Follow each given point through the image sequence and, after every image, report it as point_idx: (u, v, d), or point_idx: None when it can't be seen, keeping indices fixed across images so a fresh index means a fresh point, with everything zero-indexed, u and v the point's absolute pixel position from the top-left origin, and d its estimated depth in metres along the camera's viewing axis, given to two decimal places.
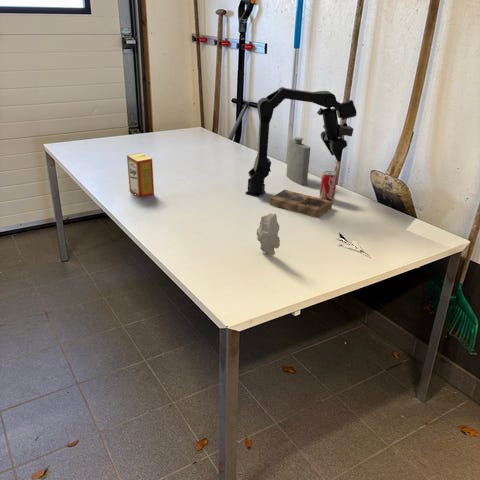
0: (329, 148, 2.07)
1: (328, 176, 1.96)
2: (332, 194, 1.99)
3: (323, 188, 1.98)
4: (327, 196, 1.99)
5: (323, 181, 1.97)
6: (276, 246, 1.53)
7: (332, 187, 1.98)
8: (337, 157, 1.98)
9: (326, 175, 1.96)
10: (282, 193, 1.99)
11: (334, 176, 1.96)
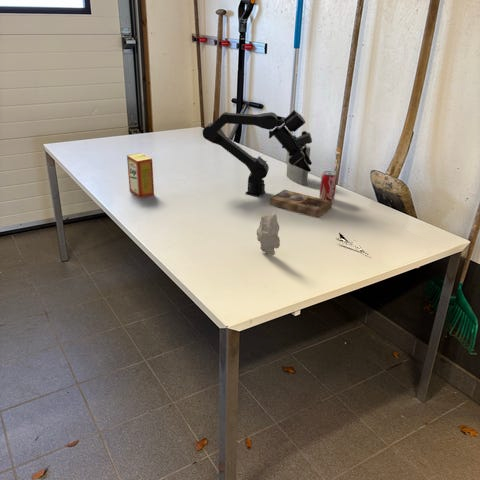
0: None
1: (328, 176, 1.96)
2: (332, 194, 1.99)
3: (323, 188, 1.98)
4: (327, 196, 1.99)
5: (323, 181, 1.97)
6: (276, 246, 1.53)
7: (332, 187, 1.97)
8: (305, 168, 1.93)
9: (326, 175, 1.96)
10: (282, 193, 1.99)
11: (334, 176, 1.96)
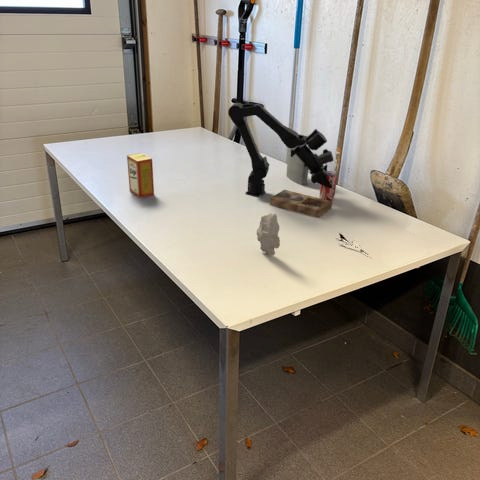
0: None
1: (328, 176, 1.96)
2: (332, 194, 1.99)
3: (323, 188, 1.98)
4: (327, 196, 1.99)
5: None
6: (276, 246, 1.53)
7: (332, 187, 1.98)
8: (326, 185, 1.96)
9: None
10: (282, 193, 1.99)
11: (334, 176, 1.96)
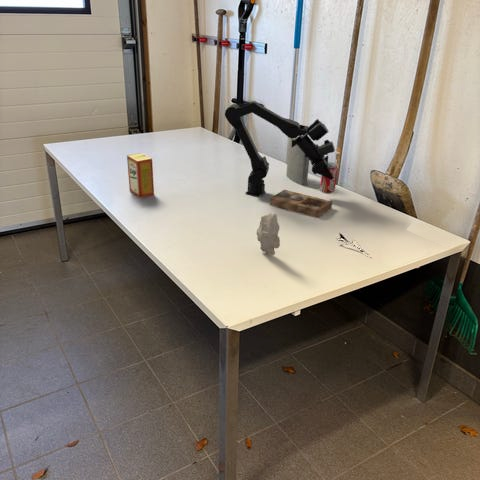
0: None
1: (329, 168, 1.94)
2: (333, 186, 1.98)
3: (323, 180, 1.97)
4: (328, 188, 1.98)
5: None
6: (276, 246, 1.53)
7: (333, 179, 1.96)
8: (327, 176, 1.94)
9: None
10: (282, 193, 1.99)
11: (335, 168, 1.94)
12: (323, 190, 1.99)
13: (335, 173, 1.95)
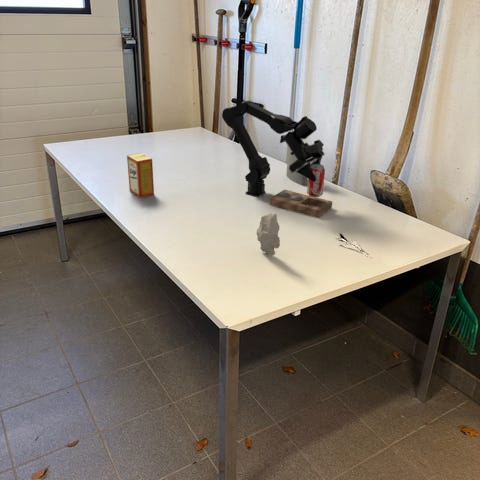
0: None
1: (312, 170, 1.83)
2: (317, 189, 1.86)
3: (308, 181, 1.87)
4: (311, 190, 1.87)
5: None
6: (276, 246, 1.53)
7: (316, 182, 1.85)
8: (309, 177, 1.84)
9: (311, 168, 1.84)
10: (282, 193, 1.99)
11: (319, 170, 1.83)
12: (308, 192, 1.89)
13: (319, 175, 1.84)
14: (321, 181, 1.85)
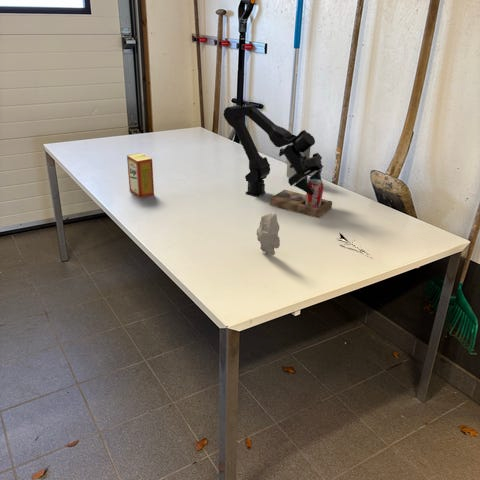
0: None
1: (311, 184, 1.87)
2: (315, 204, 1.89)
3: (306, 195, 1.90)
4: (310, 204, 1.90)
5: None
6: (276, 246, 1.53)
7: (315, 196, 1.88)
8: (307, 191, 1.85)
9: (309, 182, 1.87)
10: (282, 193, 1.99)
11: (317, 185, 1.86)
12: None
13: (318, 190, 1.87)
14: (319, 195, 1.88)
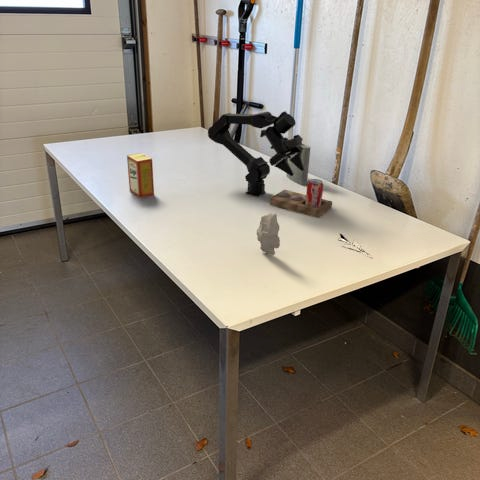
0: (296, 165, 1.96)
1: (311, 184, 1.87)
2: (315, 204, 1.89)
3: (306, 195, 1.90)
4: (310, 205, 1.90)
5: (307, 188, 1.89)
6: (276, 246, 1.53)
7: (315, 196, 1.88)
8: (287, 172, 1.88)
9: (309, 183, 1.87)
10: (282, 193, 1.99)
11: (317, 185, 1.86)
12: None
13: (317, 190, 1.87)
14: (319, 195, 1.88)
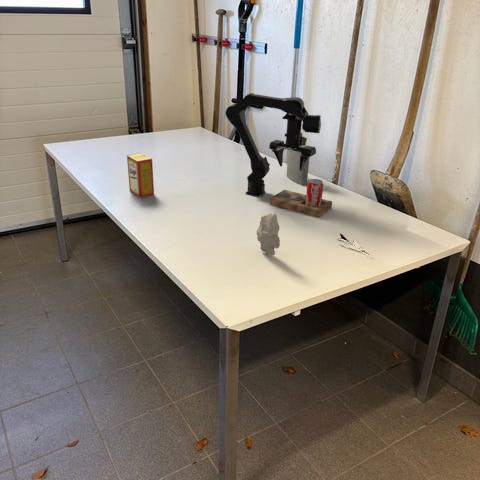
0: (280, 159, 1.98)
1: (311, 184, 1.87)
2: (315, 204, 1.89)
3: (306, 195, 1.90)
4: (310, 204, 1.90)
5: (307, 188, 1.89)
6: (276, 246, 1.53)
7: (315, 196, 1.88)
8: (302, 166, 1.94)
9: (309, 183, 1.87)
10: (282, 193, 1.99)
11: (317, 185, 1.86)
12: None
13: (317, 190, 1.87)
14: (319, 195, 1.88)
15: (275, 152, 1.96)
